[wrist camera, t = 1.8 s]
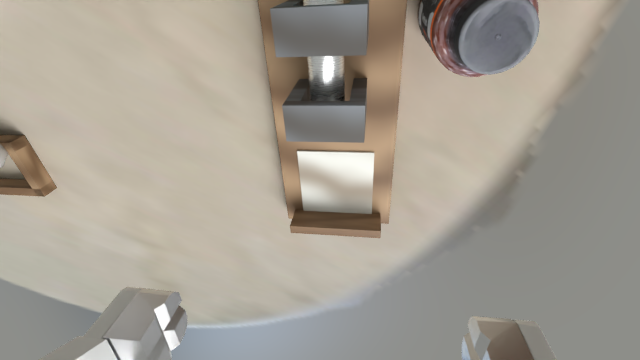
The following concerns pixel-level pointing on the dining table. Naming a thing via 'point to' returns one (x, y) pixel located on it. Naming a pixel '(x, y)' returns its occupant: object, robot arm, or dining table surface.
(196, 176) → the dining table surface
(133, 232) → the dining table surface
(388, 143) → the rail
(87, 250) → the dining table surface
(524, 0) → the supplement bottle
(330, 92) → the shaft
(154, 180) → the dining table surface
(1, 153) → the tube
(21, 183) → the tube cradle
